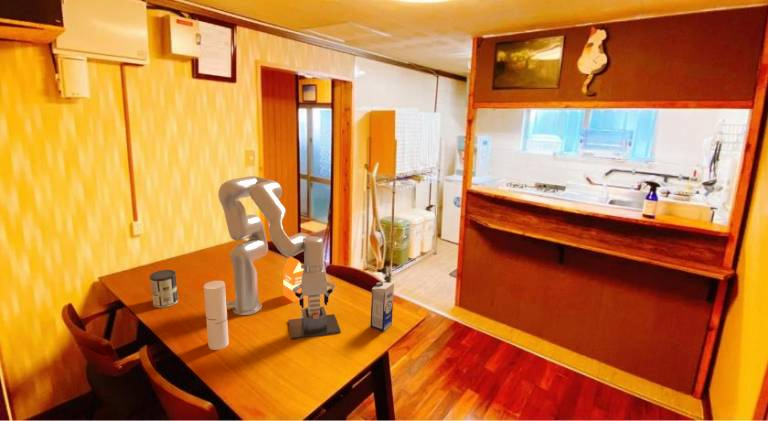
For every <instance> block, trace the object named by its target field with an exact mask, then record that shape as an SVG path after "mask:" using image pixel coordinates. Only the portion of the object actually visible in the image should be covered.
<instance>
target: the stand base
mask: <svg viewBox="0 0 768 421" xmlns="http://www.w3.org/2000/svg"><path fill="white" fill-rule="evenodd" d="M288 326H289V327H288V328H289V333H290V334H289V335H290V340H291V341H293V340H294V341H296V340H301V339H308V338H314V337H321V336H322V337H323V336H330V335H336V334H342V333H341V332H342V331H341V327H340V325H339V323H338V320H337V317H336V315H335V314H334V313H333V314H327V311H326V309H325V307H324V306H320V316H319V314H318V313H312V317H308V307H304V308H301V318H300V317H299V318H293V319H288Z"/></svg>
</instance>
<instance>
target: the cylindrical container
mask: <svg viewBox="0 0 768 421" xmlns="http://www.w3.org/2000/svg"><path fill="white" fill-rule="evenodd" d="M203 295H204V306H205V319H206V330H207V344H208V348H209V349H210V350H214V351H218V350H223V349H225V348H226V347H228V345H229V340H230V339H229V327H228V326H229V325H228V312H227V306H226V302H227V296H226V283H225V281H223V280H212V281H208V282H206V283H204V284H203Z"/></svg>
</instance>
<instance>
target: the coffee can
mask: <svg viewBox="0 0 768 421" xmlns="http://www.w3.org/2000/svg"><path fill="white" fill-rule="evenodd" d="M149 281H150V291H151V295H152V296H151V297H152V305H153V307H155V308H159V309H160V308H167V307H171V306H174V305H175V304H177V303H178V302H179V297H178V296H179V295H178V286H177V276H176V271H175V270H172V269H163V270H158V271H154V272H152V273H151V274H150V275H149Z"/></svg>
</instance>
